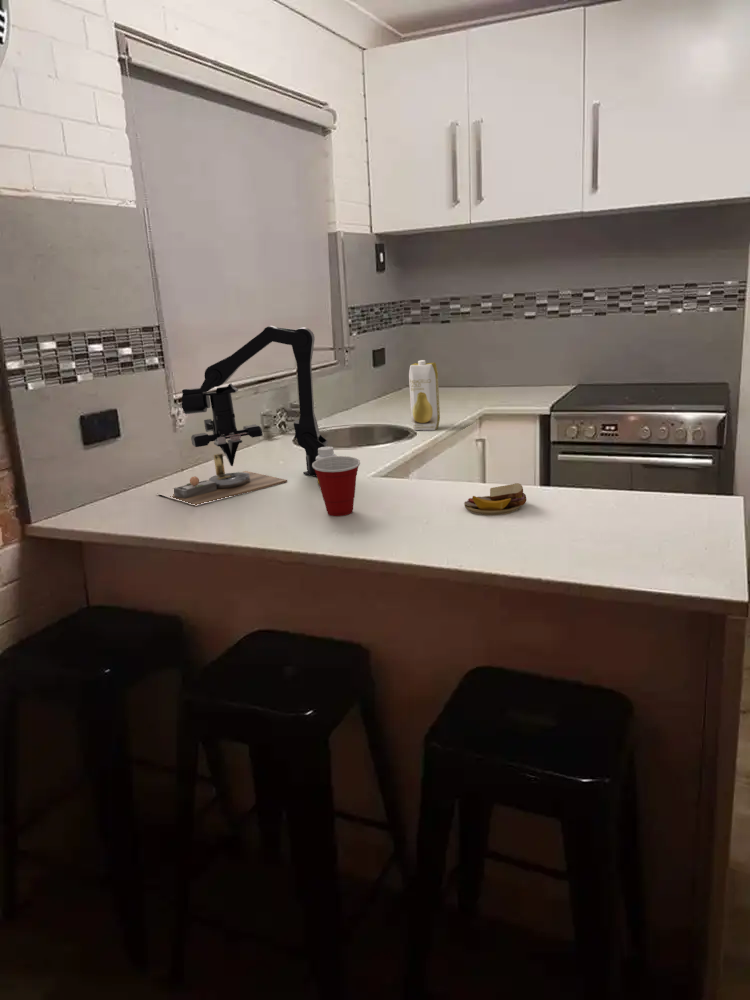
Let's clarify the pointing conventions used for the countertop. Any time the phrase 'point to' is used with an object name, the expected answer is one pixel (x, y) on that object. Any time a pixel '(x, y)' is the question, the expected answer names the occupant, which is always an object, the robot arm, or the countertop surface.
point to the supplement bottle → (325, 454)
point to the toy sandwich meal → (498, 500)
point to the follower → (196, 483)
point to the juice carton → (424, 395)
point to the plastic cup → (337, 483)
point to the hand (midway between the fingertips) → (231, 466)
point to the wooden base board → (211, 493)
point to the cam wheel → (227, 475)
